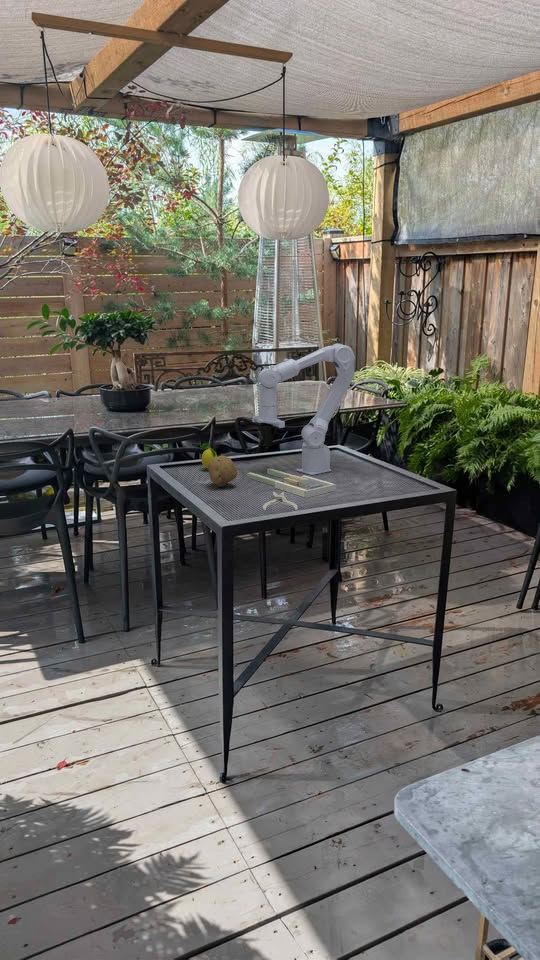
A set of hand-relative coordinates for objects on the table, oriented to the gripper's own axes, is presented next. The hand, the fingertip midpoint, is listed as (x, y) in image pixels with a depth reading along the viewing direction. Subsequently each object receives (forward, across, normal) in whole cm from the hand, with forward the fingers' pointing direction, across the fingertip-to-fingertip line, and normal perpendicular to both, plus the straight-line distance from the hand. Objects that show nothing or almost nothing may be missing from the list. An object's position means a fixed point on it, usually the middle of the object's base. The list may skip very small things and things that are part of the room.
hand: (268, 445), depth 235 cm
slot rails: (+9, +8, -4) cm, 13 cm away
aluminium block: (+10, +25, -4) cm, 27 cm away
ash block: (+10, +19, -4) cm, 22 cm away
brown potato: (+10, +4, -22) cm, 24 cm away
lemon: (+10, -16, -13) cm, 23 cm away
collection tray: (+9, +22, -4) cm, 25 cm away
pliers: (+10, +29, -20) cm, 36 cm away
